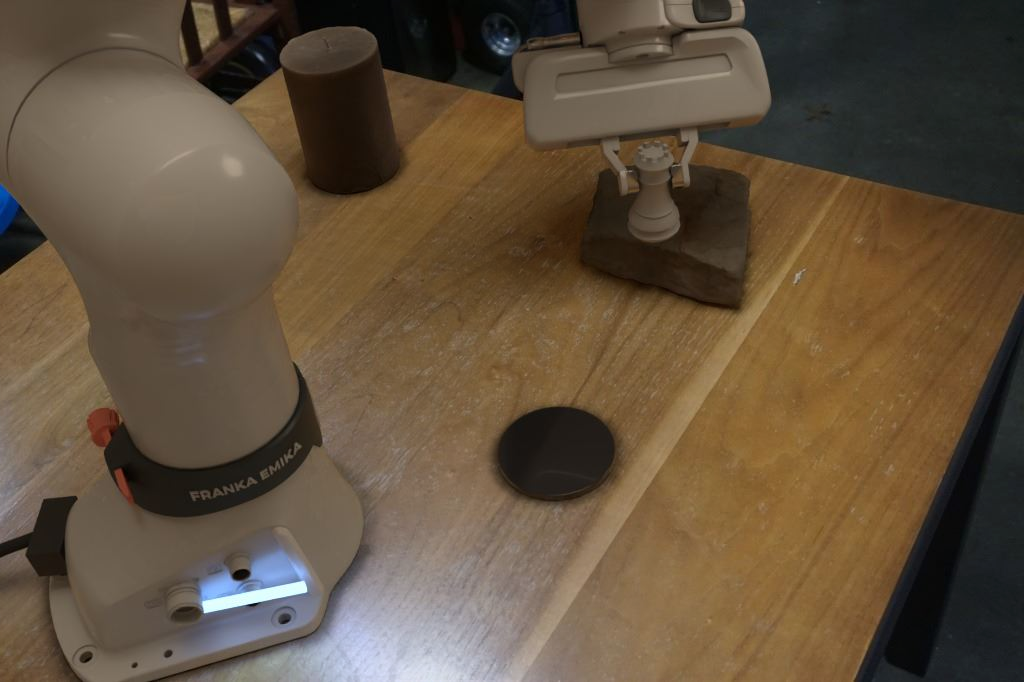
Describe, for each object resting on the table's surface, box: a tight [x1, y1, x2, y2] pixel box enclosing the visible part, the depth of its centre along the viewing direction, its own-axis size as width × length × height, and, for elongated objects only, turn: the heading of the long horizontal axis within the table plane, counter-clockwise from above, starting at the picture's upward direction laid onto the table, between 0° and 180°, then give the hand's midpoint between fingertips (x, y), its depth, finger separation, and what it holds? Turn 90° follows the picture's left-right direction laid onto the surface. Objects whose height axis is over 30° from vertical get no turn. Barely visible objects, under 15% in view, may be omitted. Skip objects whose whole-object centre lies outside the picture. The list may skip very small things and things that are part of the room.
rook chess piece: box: [628, 140, 680, 243], centre depth 91 cm, size 4×4×8 cm
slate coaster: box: [497, 406, 617, 501], centre depth 84 cm, size 9×9×1 cm
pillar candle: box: [279, 26, 401, 194], centre depth 110 cm, size 10×10×15 cm
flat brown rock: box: [581, 161, 753, 306], centre depth 100 cm, size 17×15×4 cm
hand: (655, 191), depth 90 cm, fingers closed on rook chess piece, 3 cm apart
